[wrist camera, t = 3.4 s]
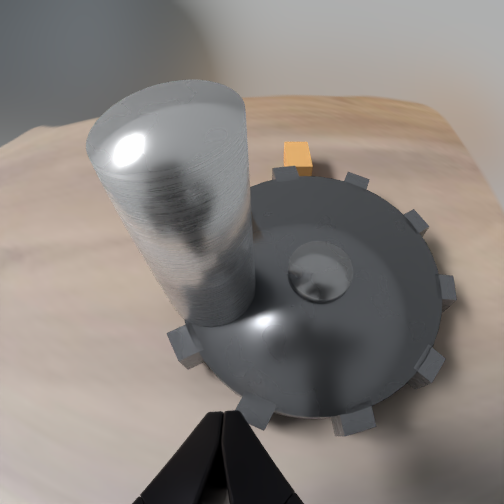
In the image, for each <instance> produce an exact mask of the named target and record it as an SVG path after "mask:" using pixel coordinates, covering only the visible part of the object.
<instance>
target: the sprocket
mask: <svg viewBox="0 0 504 504" xmlns="http://www.w3.org/2000/svg"><path fill="white" fill-rule="evenodd" d="M86 150H87V154H88V157H89V159H90V161H91V163H92V165H93V167H94V169H95V171H96V173H97V175H98V177H99V179H100V181H101V183H102V185H103V187H104V189H105V190H106V192H107V194H108V196H109V198H110V200H111V202H112V204H113V206H114V207H115V209H116V211H117V213H118V215H119V217H120V218H121V220H122V222H123V224H124V226H125V227H126V229H127V231H128V233H129V234H130V236H131V238H132V240H133V241H134V243H135V245H136V247H137V248H138V250H139V252H140V253H141V255H142V257H143V259H144V260H145V262H146V264H147V265H148V267H149V269H150V270H151V272H152V273H153V275H154V277H155V278H156V280H157V282H158V283H159V285H160V286H161V288H162V290H163V291H164V293H165V294H166V296H167V297H168V299H169V301H170V302H171V304H172V305H173V307H174V308H175V310H176V311H177V312H178V314H179V315H180V316H181V317H182V318H183V319H184V320H185V323H186V325H184V326H182V327H179V328H177V329H175V330H173V331H171V332H168V333H167V335H168V338H169V340H170V342H171V345H172V347H173V349H174V352H175V354H176V356H177V358H178V361H179V362H180V363H181V364H182V365H184V366H185V367H186V368H187V369H190V368H192V367H195V366H197V365H199V364H201V363H203V362H206V364H207V365H208V366H209V367H210V369H211V370H212V371H213V372H214V373H215V374H216V376H217V377H218V378H219V379H220V380H221V381H222V382H223V383H224V384H225V385H226V386H227V387H228V388H230V389H231V390H232V391H233V392H234V393H236V394H237V395H238V396H240V397H242V399H241V400H240V402H239V404H238V406H237V408H236V410H239V411H240V412H241V413H242V415H243V416H244V418H245V419H246V421H247V422H248V424H250V425H253V426H255V427H257V428H259V429H261V430H265V428H266V426H267V424H268V422H269V420H270V418H271V416H272V414H273V413H276V414H280V415H283V416H287V417H295V418H303V419H321V418H330V417H331V419H332V424H333V428H334V433H335V436H348V435H351V434H354V433H358V432H361V431H364V430H367V429H370V428H373V427H376V423H375V419H374V414H373V410H372V406H373V405H375V404H377V403H378V402H380V401H382V400H384V399H386V398H388V397H389V396H391V395H392V394H393V393H395V392H396V391H397V390H399V389H400V388H401V387H403V386H404V385H405V384H406V383H408V384H409V385H410V386H412V387H413V388H414V389H417V388H420V387H423V386H425V385H428V384H430V383H432V382H433V380H434V378H435V377H436V375H437V373H438V372H439V370H440V368H441V366H442V365H443V363H444V361H445V359H446V358H444V357H443V356H442V355H441V354H440V353H438V352H437V351H436V350H435V349H433V348H432V347H433V345H434V342H435V339H436V336H437V333H438V330H439V325H440V320H441V314H442V312H444V311H445V310H446V309H447V308H448V307H449V306H450V305H452V304H453V303H454V302H455V301H456V300H457V298H456V291H455V284H454V278H453V276H450V275H441V274H438V269H437V266H436V264H435V261H434V258H433V256H432V254H431V252H430V250H429V248H428V246H427V244H426V242H425V241H424V239H423V238H422V237H423V236H424V234H425V232H426V231H427V229H428V228H429V226H428V224H427V223H426V222H425V221H424V220H423V219H422V218H421V217H420V215H419V214H418V213H417V212H416V211H415V210H414V209H413V210H411V211H410V212H408V213H406V214H404V215H403V214H402V213H401V212H400V211H399V210H398V209H396V208H395V207H394V206H393V205H391V204H390V203H389V202H387V201H386V200H384V199H383V198H381V197H379V196H378V195H376V194H374V193H372V192H370V191H368V190H366V189H367V186H368V183H369V179H367V178H364V177H361V176H359V175H356V174H353V173H350V172H348V173H347V175H346V178H345V180H344V181H340V180H336V179H332V178H325V177H315V176H299V174H298V171H297V169H296V166H287V167H279V168H272V180H270V181H267V182H263V183H260V184H257V185H255V186H252V187H250V180H249V163H248V146H247V129H246V112H245V104H244V102H243V99H242V98H241V97H240V95H239V94H238V93H236V92H235V91H234V90H233V89H231V88H229V87H227V86H225V85H222V84H219V83H216V82H211V81H204V80H180V81H173V82H166V83H162V84H158V85H154V86H151V87H148V88H145V89H143V90H140V91H138V92H136V93H133V94H131V95H129V96H127V97H126V98H124V99H123V100H121V101H119V102H118V103H116V104H115V105H113V106H112V107H111V108H109V109H108V110H107V111H106V112H105V113H104V114H103V115H102V116H101V117H100V118H99V119H98V120H97V121H96V122H95V124H94V125H93V127H92V128H91V130H90V132H89V134H88V138H87V142H86Z"/></svg>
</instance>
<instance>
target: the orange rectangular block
mask: <svg viewBox="0 0 504 504" xmlns="http://www.w3.org/2000/svg"><path fill="white" fill-rule="evenodd" d="M287 166H296V169H297V171H298V174H299V176H311V175H312V168H313V166H312V161H311V156H310V152H309V147H308V143H307V142H285V143H284V167H287Z"/></svg>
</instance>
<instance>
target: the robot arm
mask: <svg viewBox="0 0 504 504" xmlns="http://www.w3.org/2000/svg"><path fill="white" fill-rule="evenodd" d="M140 496H141V497H138V498H137V499H136V500H135V501H134V502H133V503H132V504H304V503H303V502H302V500H301V499H300V498H299V496H298V495H297V494H296V493H295V492H294V490H293V488H292V487H291V486H290V484H289V483H288V482H287V480H286V479H285V477H284V476H283V475H282V473H281V472H280V470H279V469H278V467H277V466H276V465H275V463H274V462H273V460H272V459H271V457H270V456H269V454H268V453H267V451H266V450H265V448H264V447H263V445H262V444H261V442H260V441H259V439H258V438H257V436H256V435H255V433H254V432H253V430H252V429H251V427H250V426H249V424H248V422H247V421H246V419H245V418H244V416H243V415H242V413H241V412H240V411H239V410H233V411H225V412H224V413H223V412H221V411H219V412H208V413H207V414H206V415H205V416H204V418H203V419H202V420H201V422H200V423H199V424H198V425H197V427H196V428H195V429H194V430H193V432H192V433H191V434H190V435H189V437H188V438H187V439H186V440H185V442H184V443H183V444H182V445H181V447H180V448H179V449H178V450H177V452H176V453H175V454H174V455H173V457H172V458H171V459H170V460H169V461H168V463H167V464H166V465H165V466H164V467H163V469H162V470H161V471H160V472H159V473H158V475H157V476H156V477H155V478H154V479H153V480H152V482H151V483H150V484H149V485H148V486H147V488H146V489H145V490H144V491H143V492H142V493H141V494H140Z"/></svg>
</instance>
